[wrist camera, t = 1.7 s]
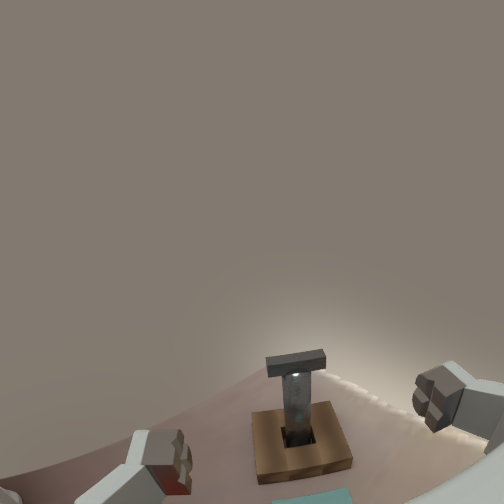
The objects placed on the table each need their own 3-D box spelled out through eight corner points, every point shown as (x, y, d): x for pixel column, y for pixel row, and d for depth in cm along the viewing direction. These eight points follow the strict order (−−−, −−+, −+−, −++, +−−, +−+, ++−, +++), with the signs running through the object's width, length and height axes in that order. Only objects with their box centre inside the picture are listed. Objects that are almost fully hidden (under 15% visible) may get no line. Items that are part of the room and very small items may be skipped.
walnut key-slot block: (258, 484, 31) (256, 474, 31) (253, 424, 44) (251, 412, 43) (350, 468, 32) (353, 457, 31) (328, 412, 44) (329, 400, 44)
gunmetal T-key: (276, 458, 36) (267, 370, 32) (274, 441, 40) (264, 353, 35) (323, 450, 36) (328, 360, 32) (317, 434, 40) (320, 345, 35)
